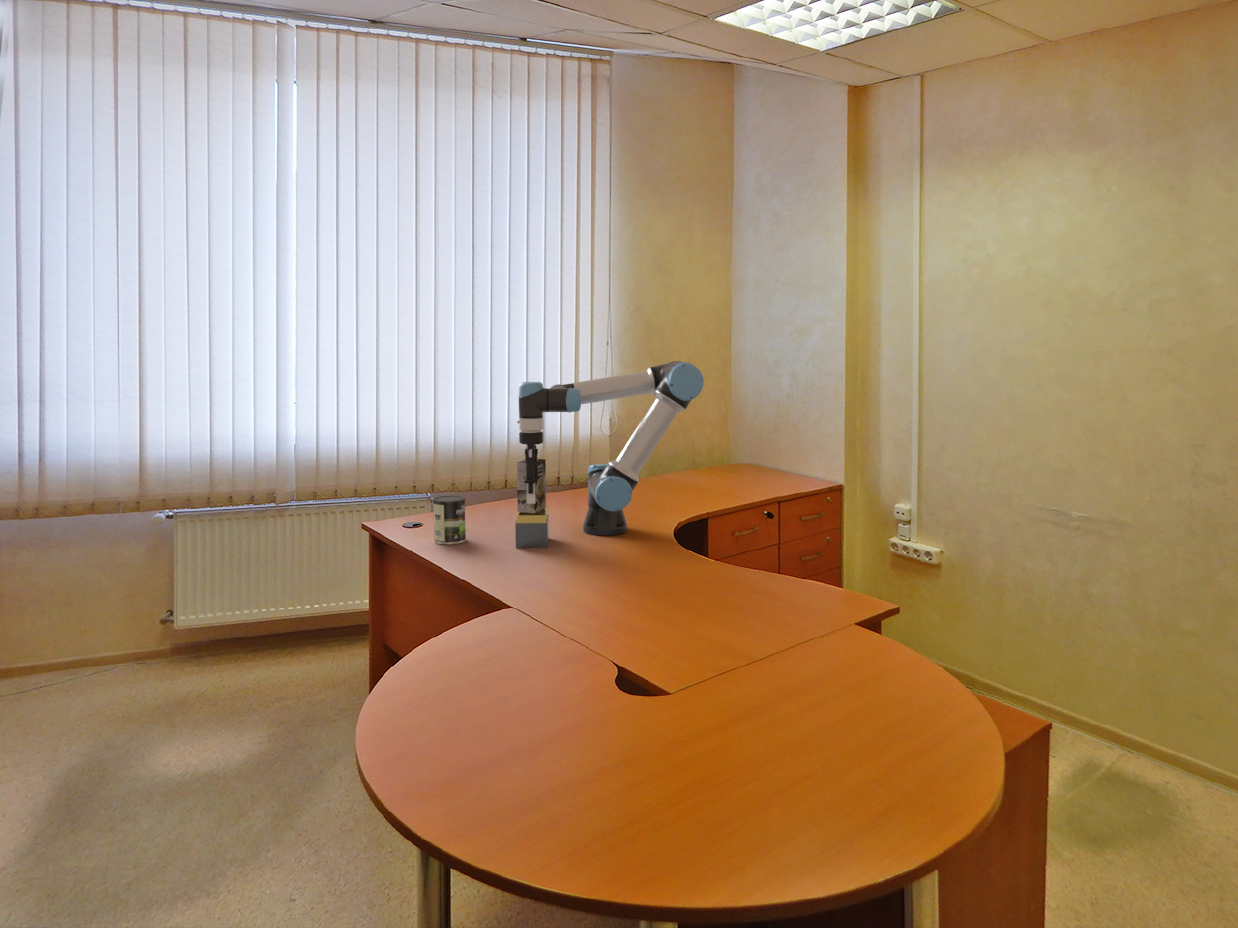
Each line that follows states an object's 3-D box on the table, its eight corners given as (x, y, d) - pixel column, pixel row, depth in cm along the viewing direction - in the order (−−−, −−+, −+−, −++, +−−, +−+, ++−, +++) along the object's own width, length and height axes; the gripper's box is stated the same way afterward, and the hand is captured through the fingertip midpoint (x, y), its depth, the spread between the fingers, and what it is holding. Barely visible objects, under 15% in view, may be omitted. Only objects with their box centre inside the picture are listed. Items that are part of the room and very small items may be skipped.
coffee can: (470, 537, 279) (469, 495, 277) (458, 545, 269) (457, 502, 267) (441, 536, 281) (440, 494, 279) (428, 543, 271) (427, 500, 269)
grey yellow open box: (548, 538, 279) (548, 506, 277) (547, 547, 267) (547, 515, 265) (518, 538, 278) (517, 507, 277) (515, 548, 266) (515, 515, 265)
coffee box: (535, 513, 266) (534, 463, 263) (516, 512, 268) (515, 461, 265) (546, 507, 274) (546, 458, 272) (528, 506, 276) (528, 457, 274)
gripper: (521, 426, 278) (522, 492, 281) (516, 435, 255) (517, 507, 259) (544, 426, 278) (544, 492, 282) (541, 435, 256) (542, 507, 259)
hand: (531, 499), depth 270 cm, fingers closed on coffee box, 10 cm apart
